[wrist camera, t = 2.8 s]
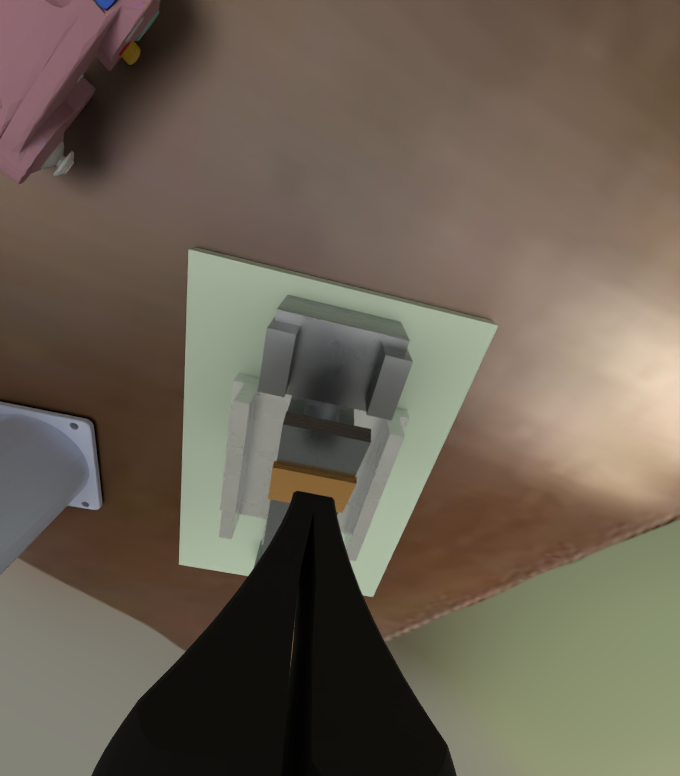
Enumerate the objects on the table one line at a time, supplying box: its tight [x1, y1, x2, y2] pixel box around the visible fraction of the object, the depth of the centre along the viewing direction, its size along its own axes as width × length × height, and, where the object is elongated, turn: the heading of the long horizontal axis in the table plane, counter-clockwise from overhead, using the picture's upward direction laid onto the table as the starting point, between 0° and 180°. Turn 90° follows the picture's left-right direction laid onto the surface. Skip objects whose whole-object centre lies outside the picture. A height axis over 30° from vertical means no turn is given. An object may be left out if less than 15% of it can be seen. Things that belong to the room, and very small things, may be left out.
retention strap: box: [262, 411, 371, 555], centre depth 17 cm, size 3×16×1 cm, turn 167°
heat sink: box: [219, 373, 410, 561], centre depth 21 cm, size 10×10×3 cm
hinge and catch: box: [253, 295, 413, 612], centre depth 20 cm, size 6×20×4 cm, turn 167°
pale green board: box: [179, 247, 498, 597], centre depth 23 cm, size 16×24×1 cm, turn 167°
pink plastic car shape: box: [0, 0, 161, 184], centre depth 12 cm, size 10×5×7 cm, turn 128°
